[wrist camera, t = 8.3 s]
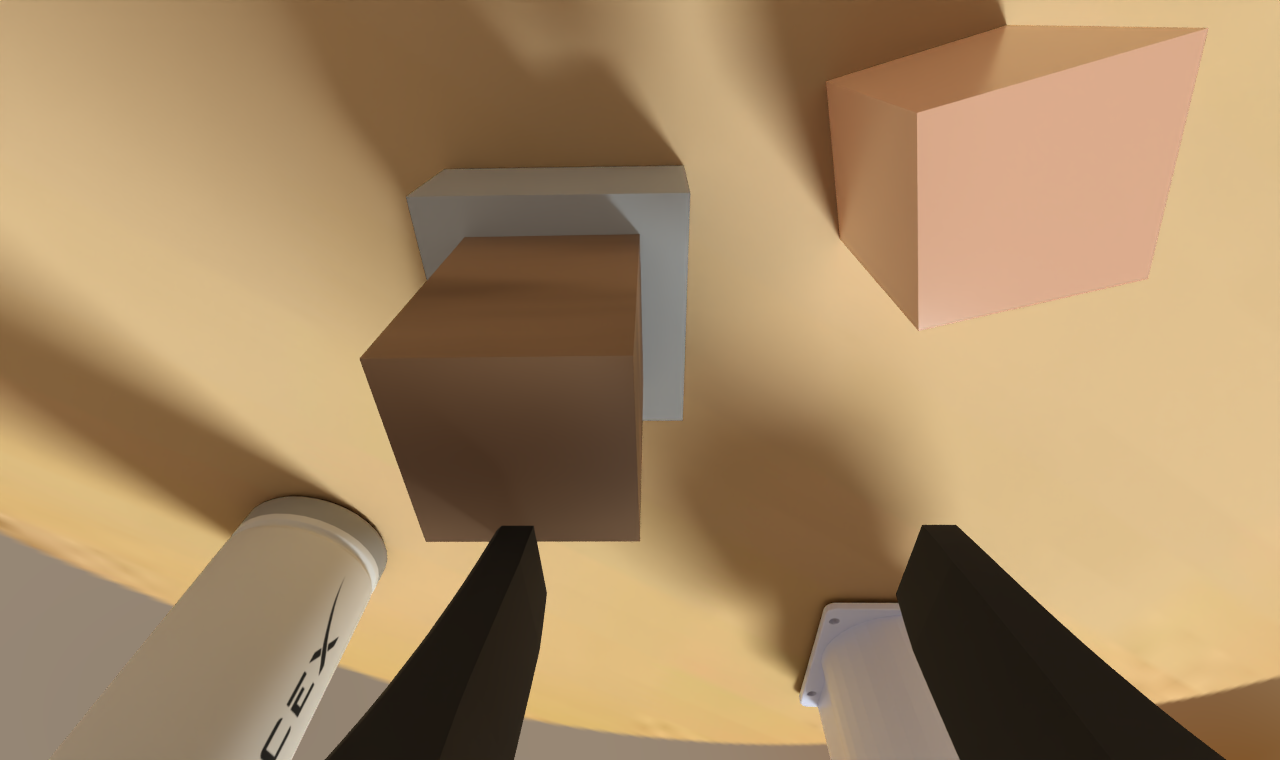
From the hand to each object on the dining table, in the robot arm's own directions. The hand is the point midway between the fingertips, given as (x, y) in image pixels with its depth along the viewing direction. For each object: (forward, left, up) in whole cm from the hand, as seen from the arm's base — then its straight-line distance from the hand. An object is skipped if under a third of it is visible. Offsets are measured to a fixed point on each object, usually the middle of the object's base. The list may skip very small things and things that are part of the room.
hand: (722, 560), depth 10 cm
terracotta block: (+6, -6, -10) cm, 13 cm away
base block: (+2, +4, -10) cm, 11 cm away
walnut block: (+2, +4, -7) cm, 8 cm away
